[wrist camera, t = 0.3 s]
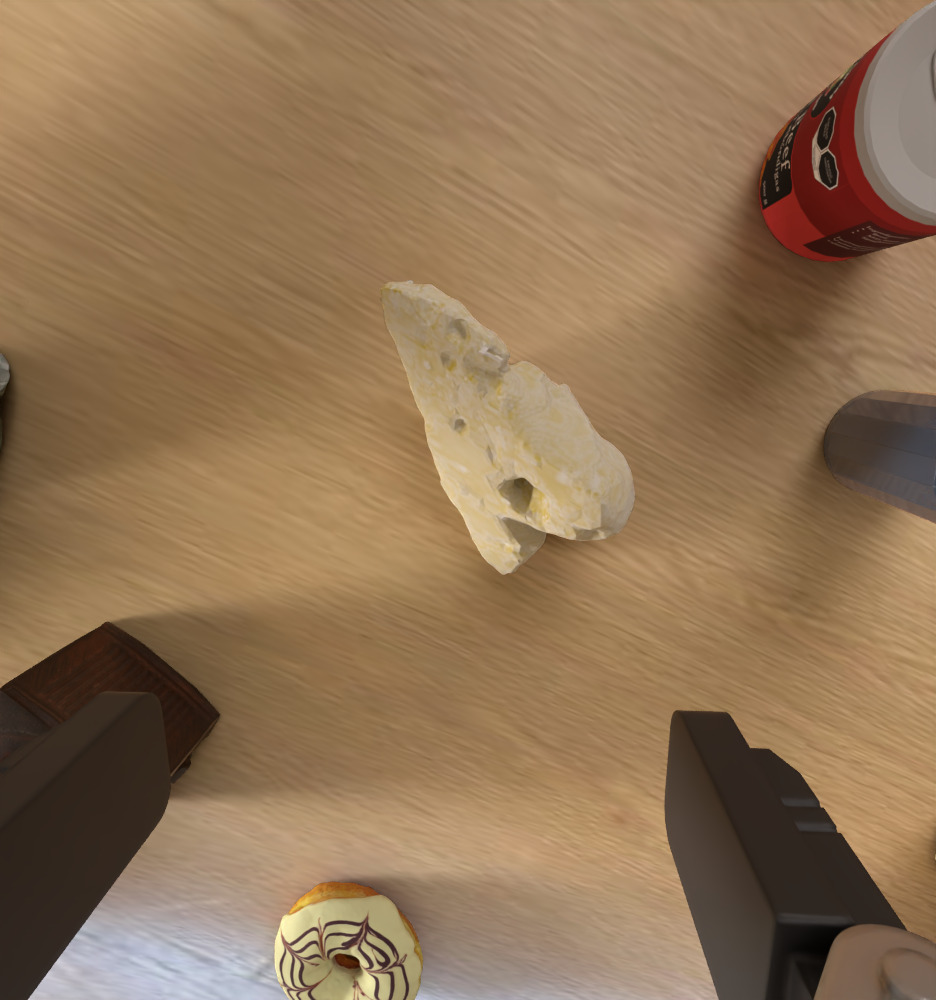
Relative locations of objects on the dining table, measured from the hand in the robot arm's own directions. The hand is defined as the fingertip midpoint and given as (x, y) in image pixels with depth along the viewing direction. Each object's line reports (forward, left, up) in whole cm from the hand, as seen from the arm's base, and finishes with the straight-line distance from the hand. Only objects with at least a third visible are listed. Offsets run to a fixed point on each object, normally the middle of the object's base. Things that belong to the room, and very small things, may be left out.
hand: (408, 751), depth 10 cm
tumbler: (-1, +22, -29) cm, 37 cm away
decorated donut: (+36, -9, -29) cm, 47 cm away
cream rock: (-2, 0, -29) cm, 29 cm away
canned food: (-15, +18, -29) cm, 37 cm away
